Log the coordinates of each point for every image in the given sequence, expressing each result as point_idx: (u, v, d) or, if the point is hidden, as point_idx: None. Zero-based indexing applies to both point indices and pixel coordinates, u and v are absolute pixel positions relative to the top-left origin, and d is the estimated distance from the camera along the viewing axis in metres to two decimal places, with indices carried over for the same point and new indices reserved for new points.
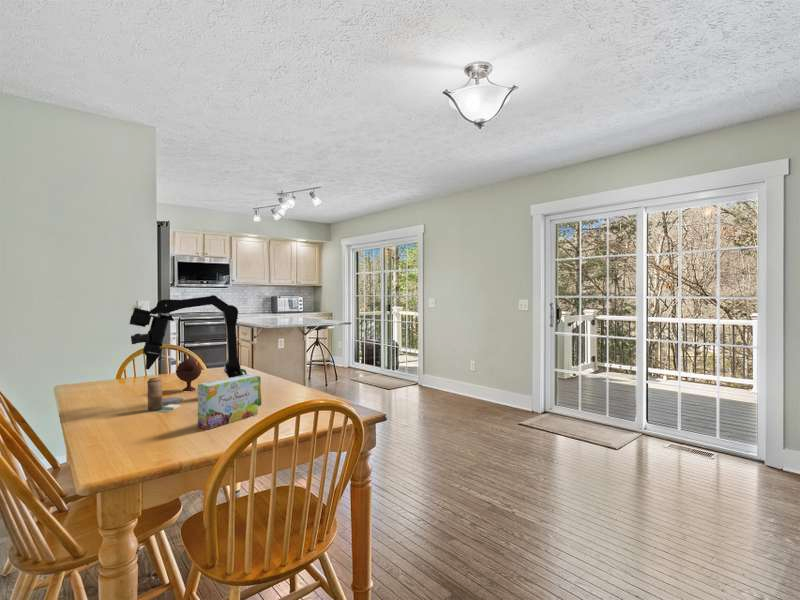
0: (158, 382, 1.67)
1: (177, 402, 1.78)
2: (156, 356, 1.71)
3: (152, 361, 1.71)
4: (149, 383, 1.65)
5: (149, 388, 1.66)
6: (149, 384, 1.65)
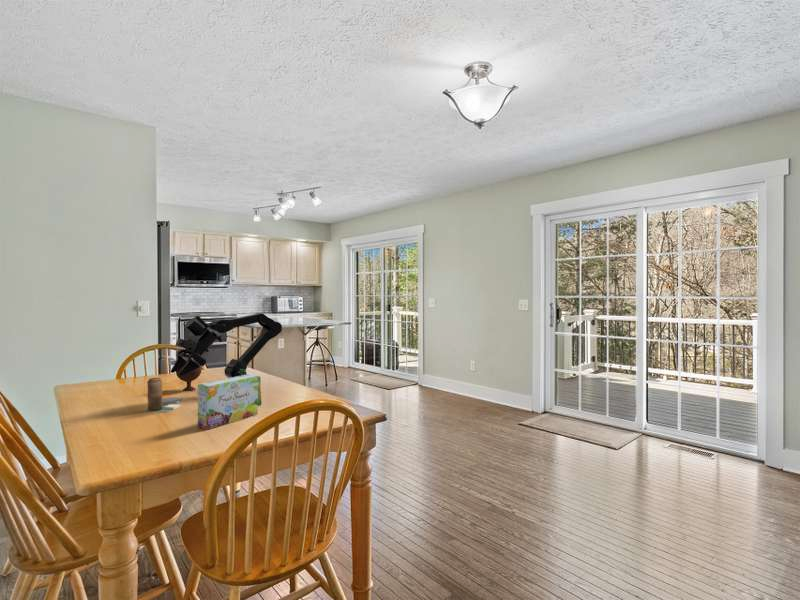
0: (158, 382, 1.67)
1: (177, 402, 1.78)
2: (195, 367, 1.72)
3: (189, 370, 1.71)
4: (149, 383, 1.65)
5: (149, 388, 1.66)
6: (149, 384, 1.65)
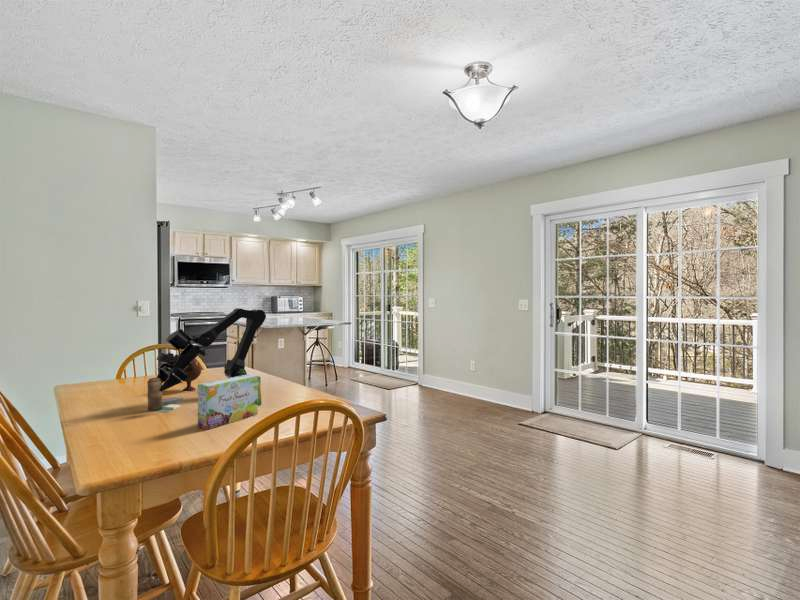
0: (158, 382, 1.67)
1: (177, 402, 1.78)
2: (177, 382, 1.67)
3: (170, 385, 1.66)
4: (149, 383, 1.65)
5: (149, 388, 1.66)
6: (149, 384, 1.65)
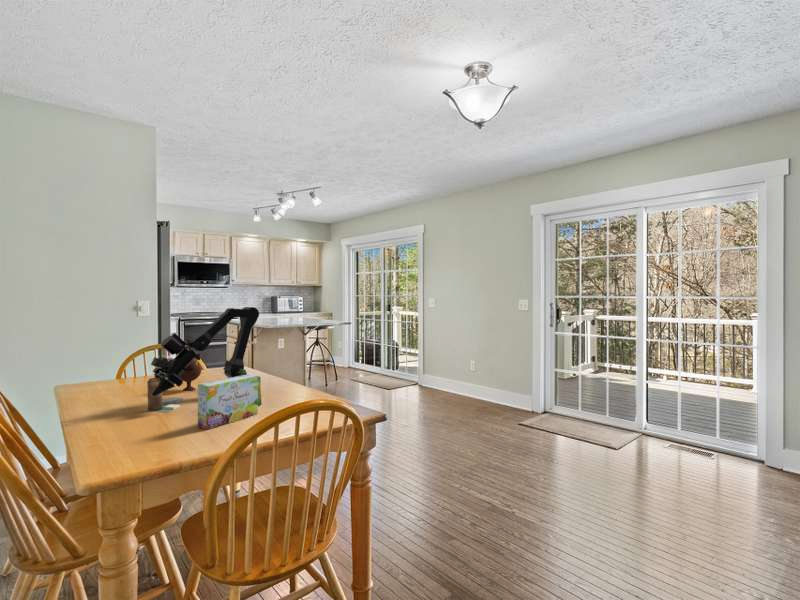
0: (158, 382, 1.67)
1: (177, 402, 1.78)
2: (170, 386, 1.67)
3: (163, 390, 1.66)
4: (149, 383, 1.65)
5: (149, 388, 1.66)
6: (149, 384, 1.65)
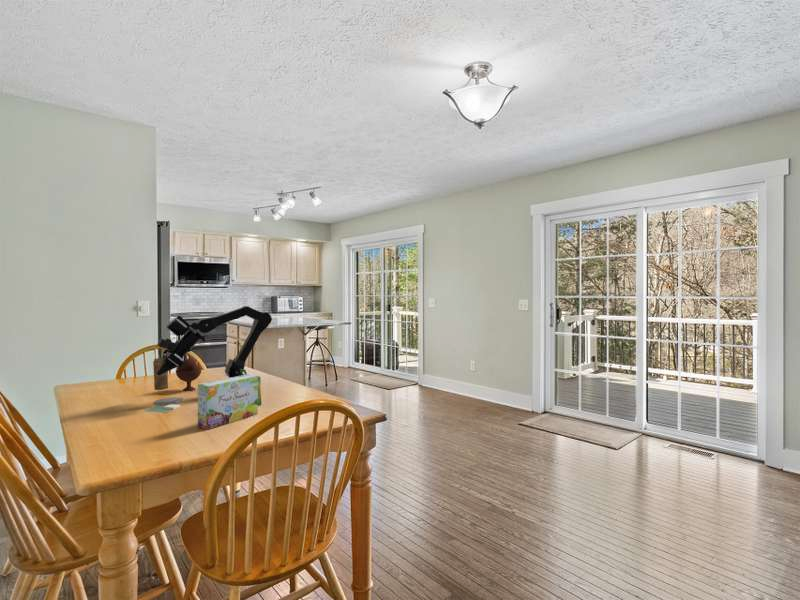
0: (162, 362, 1.72)
1: (177, 402, 1.78)
2: (173, 366, 1.73)
3: (167, 369, 1.72)
4: (154, 363, 1.72)
5: (154, 367, 1.72)
6: (154, 364, 1.72)
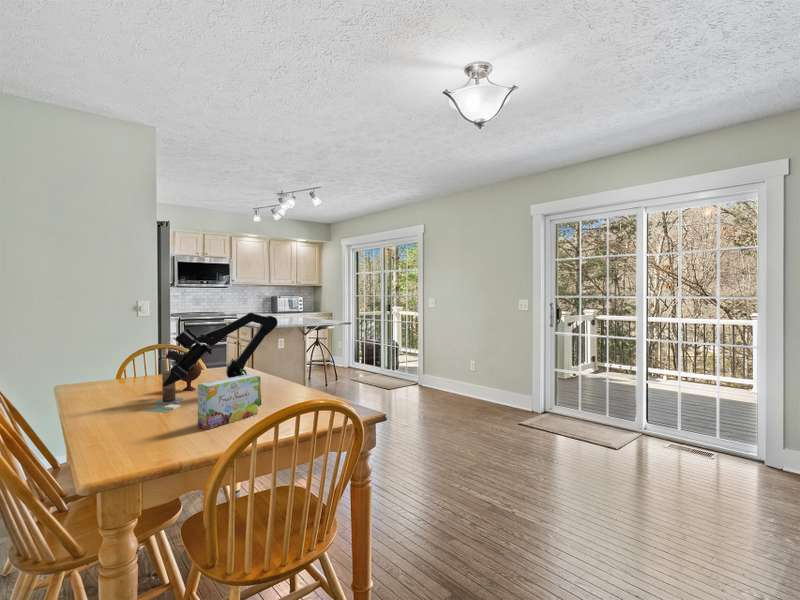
0: None
1: (177, 402, 1.78)
2: (178, 378, 1.77)
3: (172, 381, 1.76)
4: (162, 375, 1.79)
5: (162, 380, 1.79)
6: (162, 376, 1.79)
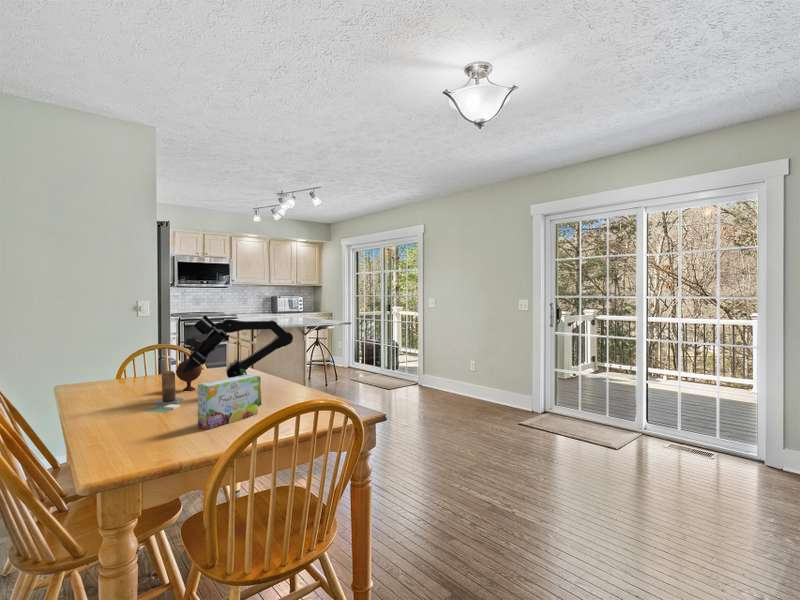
0: (169, 375, 1.78)
1: (177, 402, 1.78)
2: (197, 365, 1.79)
3: (191, 367, 1.78)
4: (162, 376, 1.78)
5: (162, 380, 1.78)
6: (162, 377, 1.78)
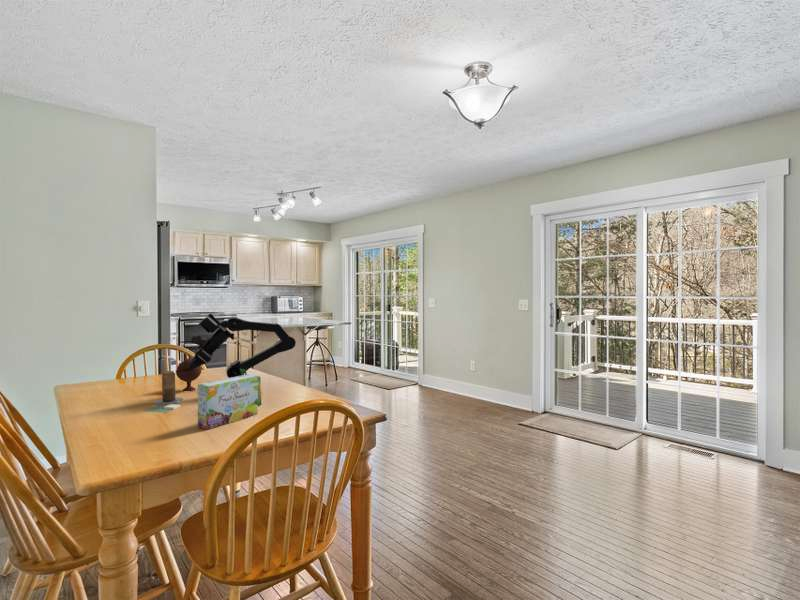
0: (169, 375, 1.79)
1: (177, 402, 1.78)
2: (202, 363, 1.79)
3: (196, 365, 1.79)
4: (162, 376, 1.78)
5: (162, 380, 1.79)
6: (162, 376, 1.78)
